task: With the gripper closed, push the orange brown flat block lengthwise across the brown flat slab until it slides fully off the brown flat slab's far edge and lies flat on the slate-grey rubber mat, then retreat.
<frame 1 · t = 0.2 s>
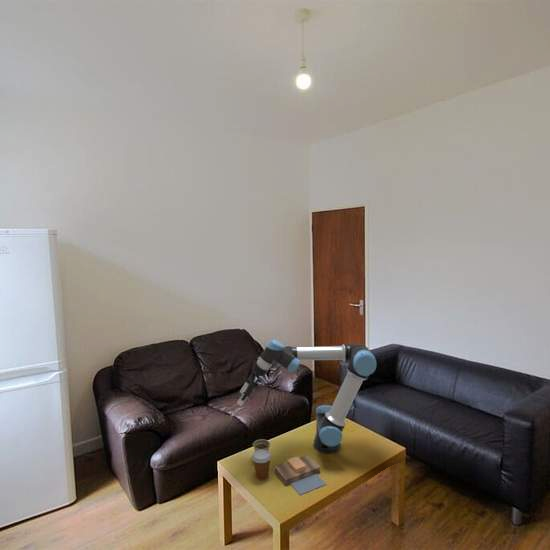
hand: (240, 398, 192), 35 cm above the table, tool tilted 35°, fingers open, 13 cm apart
brown flat slab: (297, 472, 185), on the table
mat: (308, 484, 176), on the table
orange brown flat block: (296, 466, 185), point 3 cm above the table, touching brown flat slab
disposable coffee cup: (262, 476, 182), on the table
clear plastic cup: (262, 459, 197), on the table
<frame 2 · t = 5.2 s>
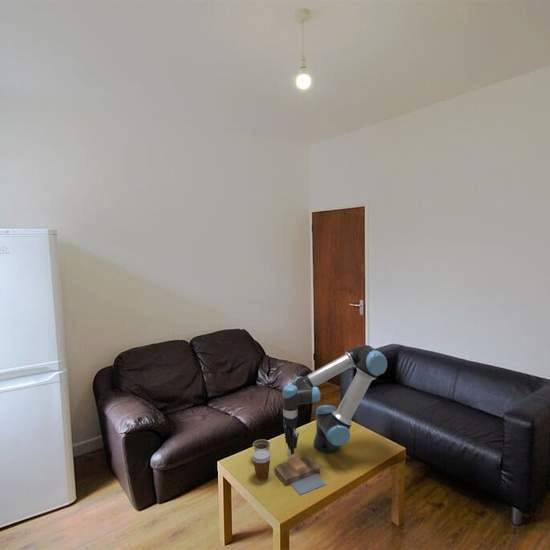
hand: (291, 458, 189), 4 cm above the table, tool pointing down, fingers closed
orange brown flat block: (296, 466, 185), point 3 cm above the table, touching gripper
everything else where it was.
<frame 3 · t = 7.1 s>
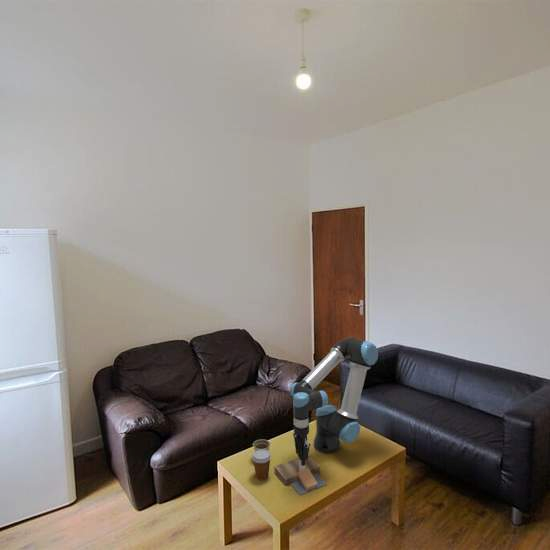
hand: (302, 470, 180), 4 cm above the table, tool pointing down, fingers closed
orange brown flat block: (307, 480, 176), point 2 cm above the table, tilted 18°, touching brown flat slab, gripper, mat
everything else where it was.
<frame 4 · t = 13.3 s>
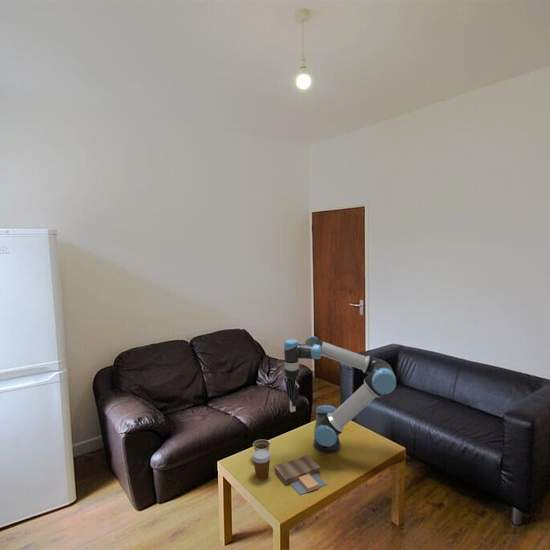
hand: (292, 411, 195), 26 cm above the table, tool pointing down, fingers closed
orange brown flat block: (308, 484, 175), resting on mat
everything else where it was.
at the end: orange brown flat block resting on mat; orange brown flat block inside the target area on the mat (0.4 cm from its centre), point 0.3 cm above the mat's base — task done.
